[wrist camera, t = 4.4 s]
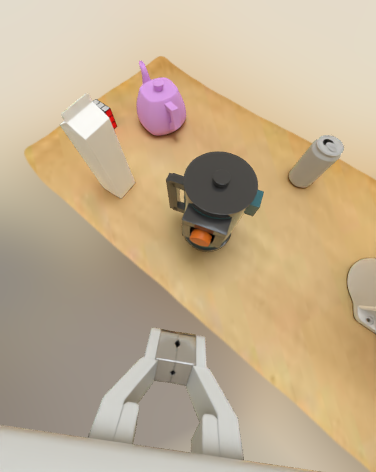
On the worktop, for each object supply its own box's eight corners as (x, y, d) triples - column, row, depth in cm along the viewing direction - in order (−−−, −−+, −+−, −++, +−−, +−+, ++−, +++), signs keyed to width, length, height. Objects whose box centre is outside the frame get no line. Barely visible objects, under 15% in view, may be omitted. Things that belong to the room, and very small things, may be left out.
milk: (103, 188, 50) (45, 106, 29) (118, 172, 52) (73, 84, 31) (121, 199, 49) (74, 122, 28) (136, 182, 51) (101, 98, 30)
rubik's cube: (103, 117, 58) (95, 98, 53) (117, 126, 57) (110, 107, 52) (89, 128, 57) (79, 110, 51) (103, 137, 56) (94, 120, 50)
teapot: (164, 93, 62) (160, 51, 52) (197, 133, 57) (200, 95, 46) (127, 108, 60) (115, 66, 49) (158, 151, 54) (151, 115, 44)
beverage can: (303, 167, 53) (335, 130, 42) (315, 186, 51) (352, 153, 40) (283, 172, 53) (310, 136, 41) (293, 191, 51) (325, 159, 39)
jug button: (207, 248, 32) (210, 242, 29) (189, 241, 33) (189, 235, 29) (210, 240, 33) (213, 233, 29) (192, 234, 33) (192, 226, 30)
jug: (224, 266, 44) (255, 236, 25) (161, 242, 45) (144, 198, 26) (239, 217, 48) (276, 160, 29) (181, 197, 50) (179, 130, 30)
